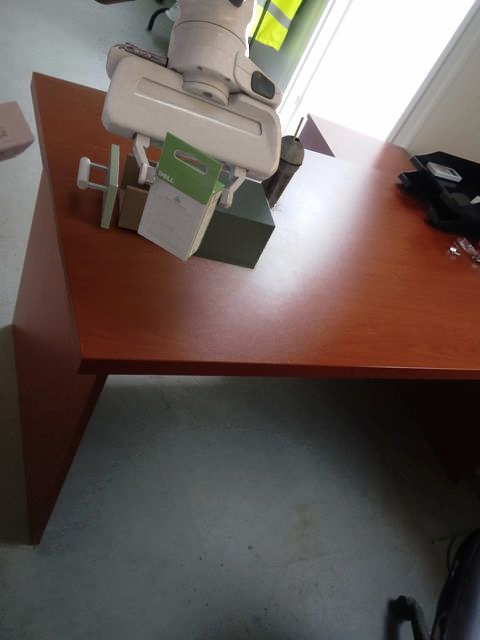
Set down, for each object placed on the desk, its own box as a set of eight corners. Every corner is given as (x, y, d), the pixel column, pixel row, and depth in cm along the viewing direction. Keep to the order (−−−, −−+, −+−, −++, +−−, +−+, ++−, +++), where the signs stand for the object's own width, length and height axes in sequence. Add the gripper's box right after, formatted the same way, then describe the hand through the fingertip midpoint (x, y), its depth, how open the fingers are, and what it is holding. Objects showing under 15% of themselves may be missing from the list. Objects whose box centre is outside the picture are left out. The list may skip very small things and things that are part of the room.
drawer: (71, 220, 71) (78, 175, 66) (77, 177, 79) (83, 134, 74) (194, 249, 80) (208, 211, 74) (188, 207, 87) (201, 171, 82)
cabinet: (164, 249, 78) (181, 200, 71) (161, 203, 86) (175, 156, 80) (253, 269, 85) (275, 226, 78) (242, 225, 93) (261, 183, 87)
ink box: (198, 250, 59) (237, 155, 50) (184, 263, 56) (223, 165, 47) (152, 221, 59) (182, 121, 50) (136, 233, 56) (165, 129, 47)
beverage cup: (284, 207, 106) (327, 125, 93) (269, 214, 101) (311, 128, 88) (261, 189, 107) (300, 105, 94) (244, 195, 102) (282, 107, 89)
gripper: (114, 18, 44) (92, 159, 45) (295, 96, 53) (276, 214, 54) (107, 50, 50) (88, 175, 51) (272, 116, 59) (254, 222, 59)
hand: (186, 195), depth 52 cm, fingers closed on ink box, 8 cm apart
